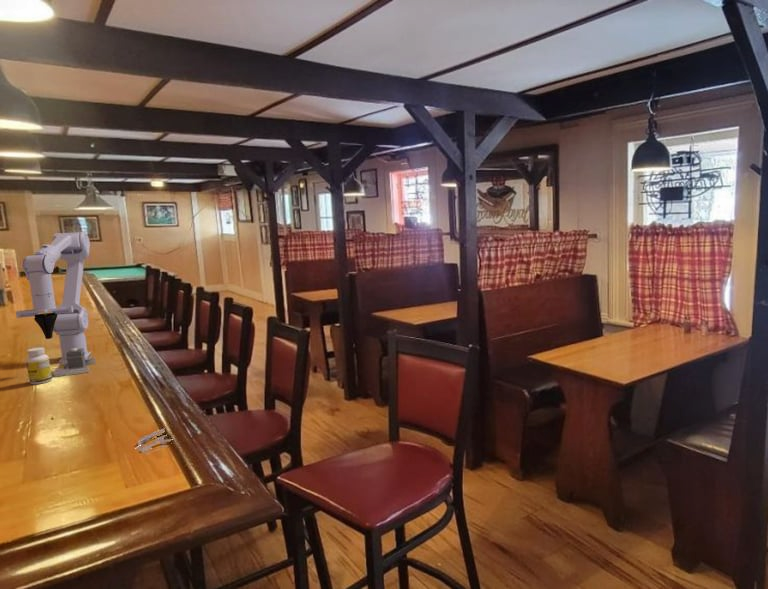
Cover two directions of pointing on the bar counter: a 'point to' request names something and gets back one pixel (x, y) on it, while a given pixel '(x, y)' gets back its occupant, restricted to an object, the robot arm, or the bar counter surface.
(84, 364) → the servo block
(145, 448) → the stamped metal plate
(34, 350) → the supplement bottle
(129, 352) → the bar counter surface
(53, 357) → the bar counter surface
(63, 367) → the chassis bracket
